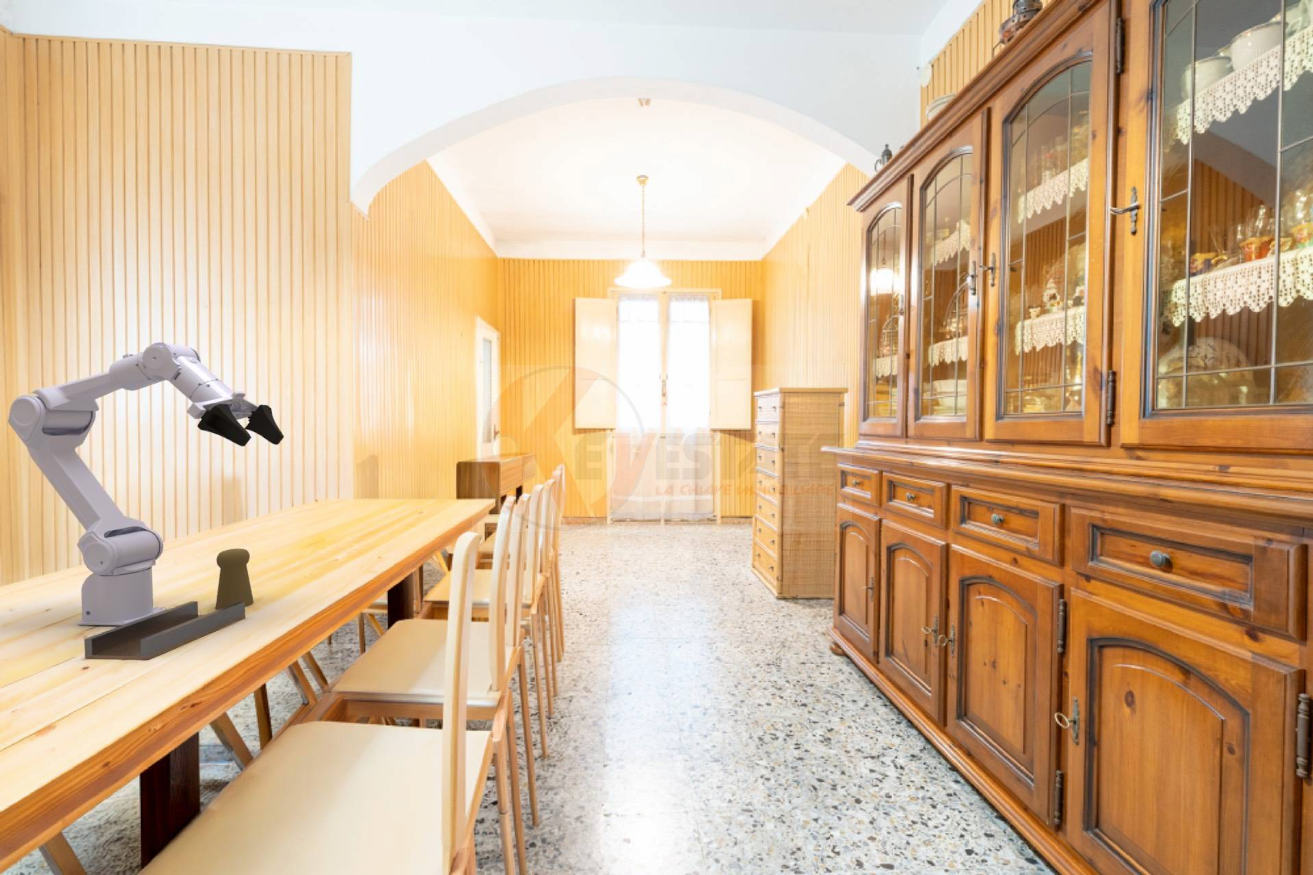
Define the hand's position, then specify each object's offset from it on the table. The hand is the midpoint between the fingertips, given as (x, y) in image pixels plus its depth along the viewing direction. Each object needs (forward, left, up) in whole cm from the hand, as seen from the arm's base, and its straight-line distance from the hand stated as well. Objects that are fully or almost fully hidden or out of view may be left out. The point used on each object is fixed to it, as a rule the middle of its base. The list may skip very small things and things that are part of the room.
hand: (263, 441), depth 100 cm
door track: (-11, -8, -32) cm, 35 cm away
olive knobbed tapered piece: (-14, +8, -32) cm, 36 cm away
